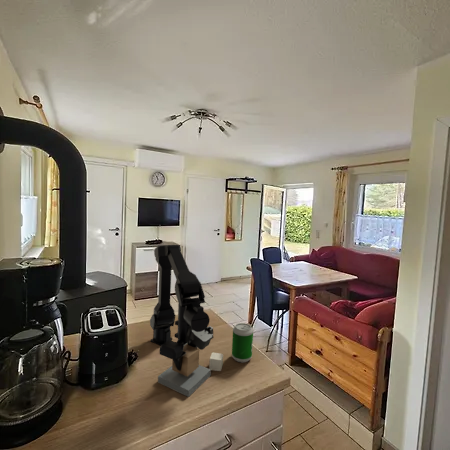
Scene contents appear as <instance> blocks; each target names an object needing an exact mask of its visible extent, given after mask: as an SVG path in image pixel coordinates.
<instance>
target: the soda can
mask: <svg viewBox="0 0 450 450" xmlns="http://www.w3.org/2000/svg"><path fill="white" fill-rule="evenodd" d="M231 341H232V343H231V356H232V357H231V358H233V359H234V361H236V362H238V363H247V362H249V361H250V360H251V359H252V357H253V343H254V342H253V341H254V329H253V327H252V326H251V325H250V324H248V323H243V322H241V323H236V324H235V325H234V326H233V328H232V340H231Z"/></svg>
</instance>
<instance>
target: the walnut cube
mask: <svg viewBox="0 0 450 450" xmlns="http://www.w3.org/2000/svg"><path fill="white" fill-rule="evenodd" d="M183 351H184V352H187V353H186V354H185V355H183V360H182V367H181V371H179V370H177V368H176V365H175V363H174V361H173V360H172V359H171V360H172V363H171V366H172V370H173V371H176V372H178V373H180V374H183V375H185V376H189V375H190V374H191V373H192V372H193V371H194V370H196V369H197V368H198V367H199V365H200V362H199V361H200V349H199V348H195V347H192V346H190V345H187V344H186V345H185V346H184V348H183Z"/></svg>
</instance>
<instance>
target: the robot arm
mask: <svg viewBox="0 0 450 450" xmlns="http://www.w3.org/2000/svg"><path fill="white" fill-rule="evenodd" d="M153 253H154V258H155V261H156V263H157V265H158V266H159V271H158V276H159V277H158V297H157V303H156V305H155V306H154V308H153V314H152V315H151V317H150V319H149V325H150V328H151V329H152V330H153V331H152V332H153V335H152V338H151V339H150V342H151V343H154V344H157V345H159V355H161V356H164V357H165V358H168V359H170V360H173V361H174V363H175V365H176V368H177V370H179V371H181V367H182V360H183V355H185V354H186V353H187V352H184V351H183V348H184V346H185V345H186V344H187V345H190V346H192V347H195V348H198V349H199V351H203V350H205V348H206V347H208V346H209V345H210V344H211V341H212V340H213V339H214V327H212V326H211V325H209V324H210V322H211V321H210V319H211V318H210V315H209V314H208V313H207V312H206V311H205V310H204V307H203V306H202V305H201V304H205V303H206V300H205V298H206V296H205V292H204V290H203V286H202V283H201V281H200V280H199V279H198V277H197V275H196V274H194V273H193V272H192V271H191V270H189V266H188V265H187V262H186V260H185V258H184V256H183V253H182V248H181V245H179V244H158V245H157V246H156V247H155V248H154V251H153ZM172 271H173V273H174V274H173V275H174V277H175V284H174V293H175V295H176V299H177V302H178V304H177V307H178V308H177V320H176V314H175V310H174V309H175V308H173V306H172V305H171V292H172V291H171V290H172V289H171V288H172ZM174 325H175V326H177V332H176V333H174V338H176V339H177V341H174V340H173V337H172V336H171V335H172V332H171V331H172V330H171V327H174Z"/></svg>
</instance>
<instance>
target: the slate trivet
mask: <svg viewBox="0 0 450 450" xmlns="http://www.w3.org/2000/svg"><path fill="white" fill-rule="evenodd" d="M211 376H212V370H211V369H209V368H207V367H205V366H204V365H200V364H199V367H198V368H197V369H196V370H194V371H193V372H192V373H191V374H190V375H189V376H185V375H183V374H180V373H178V372H176V371H173V370H172V365H171V366H169V367H168V368H167V369H166V370H165V371H163V372H162V373H160V374H159V375H158V376H157V383H158V384H161V385H163V386H164V387H166V388H169V389H171V390H172V391H175V392H177V393H179V394H181V395H184V396H185V397H188V398H190V397H191V396H192V395H193V393H194V392H195V391H196V390H198V389H199V388H200V387H201V386H202V384H204V383H205V382H206V381H207V380H208V379H209V378H210V377H211Z"/></svg>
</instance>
